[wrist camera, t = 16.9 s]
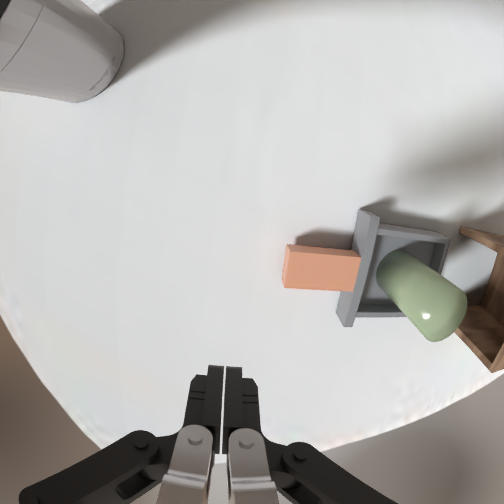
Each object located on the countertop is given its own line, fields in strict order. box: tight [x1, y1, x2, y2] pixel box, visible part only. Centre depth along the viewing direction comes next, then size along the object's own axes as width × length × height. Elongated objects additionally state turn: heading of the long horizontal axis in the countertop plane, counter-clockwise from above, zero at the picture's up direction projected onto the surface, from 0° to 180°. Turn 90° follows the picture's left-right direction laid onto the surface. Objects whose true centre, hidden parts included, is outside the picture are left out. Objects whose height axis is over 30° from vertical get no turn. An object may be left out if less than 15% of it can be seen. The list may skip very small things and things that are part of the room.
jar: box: [376, 250, 467, 342], centre depth 24 cm, size 5×5×10 cm
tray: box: [282, 209, 450, 327], centre depth 28 cm, size 18×12×3 cm, turn 84°
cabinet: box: [454, 227, 504, 373], centre depth 24 cm, size 11×12×14 cm
